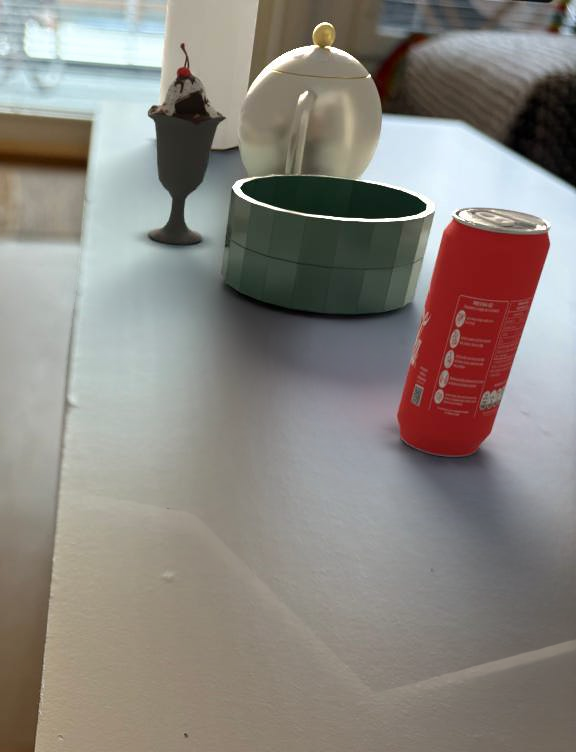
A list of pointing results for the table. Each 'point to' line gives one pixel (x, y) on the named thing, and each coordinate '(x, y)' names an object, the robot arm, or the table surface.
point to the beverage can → (471, 328)
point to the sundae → (183, 148)
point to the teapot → (311, 114)
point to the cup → (212, 55)
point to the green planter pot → (325, 242)
